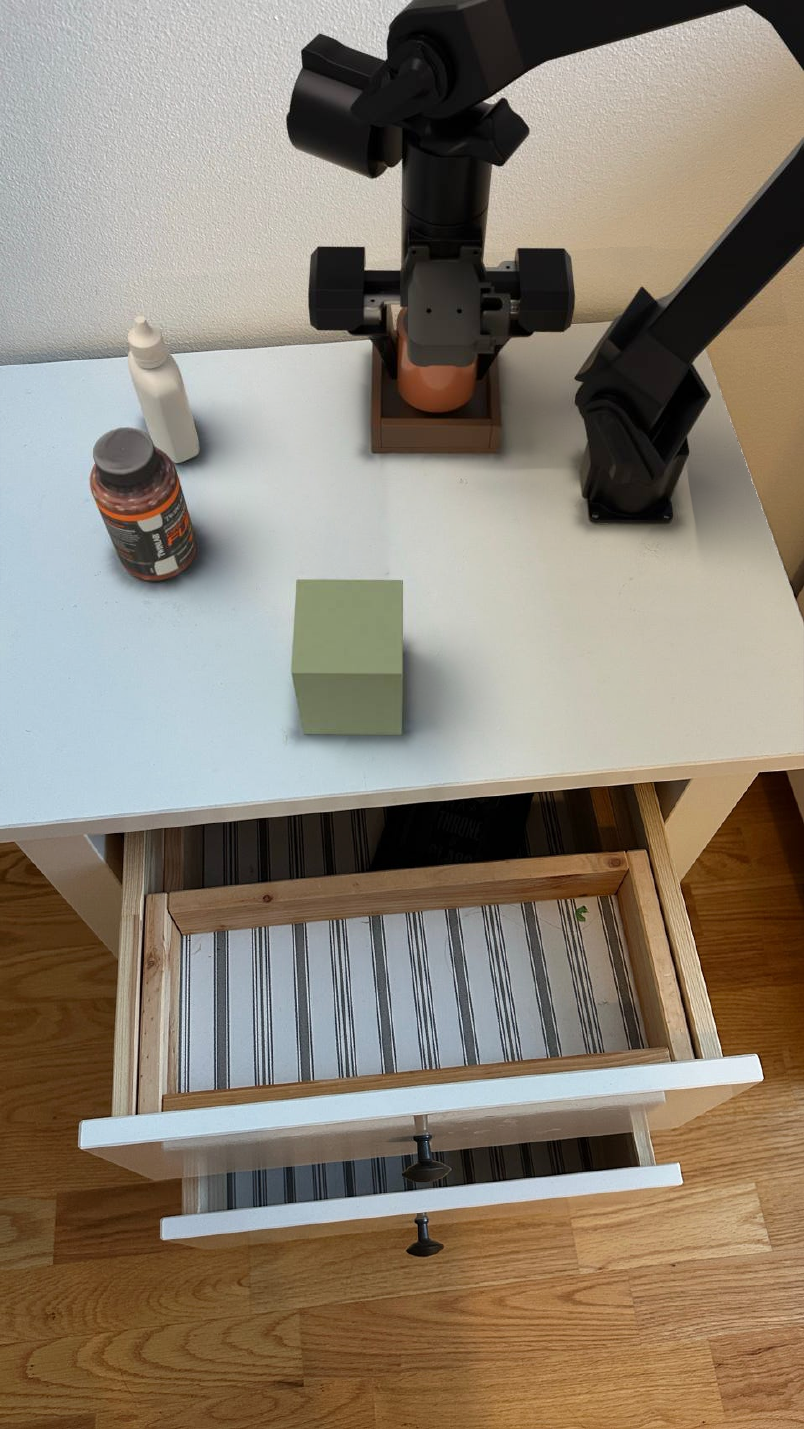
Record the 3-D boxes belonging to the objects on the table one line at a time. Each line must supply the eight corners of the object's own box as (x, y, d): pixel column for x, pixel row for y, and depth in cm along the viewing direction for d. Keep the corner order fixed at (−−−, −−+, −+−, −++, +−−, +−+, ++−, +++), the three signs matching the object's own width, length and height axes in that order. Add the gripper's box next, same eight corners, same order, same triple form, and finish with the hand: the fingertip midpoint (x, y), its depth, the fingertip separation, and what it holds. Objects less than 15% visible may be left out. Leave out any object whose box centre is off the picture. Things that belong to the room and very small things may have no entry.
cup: (475, 353, 80) (480, 292, 74) (477, 413, 77) (483, 354, 72) (396, 352, 80) (396, 291, 74) (396, 412, 77) (396, 353, 72)
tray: (493, 359, 83) (497, 330, 80) (498, 453, 78) (502, 426, 76) (373, 358, 83) (372, 329, 80) (371, 452, 78) (370, 425, 76)
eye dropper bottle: (204, 411, 80) (174, 291, 69) (199, 465, 78) (168, 349, 67) (150, 412, 80) (112, 291, 69) (144, 466, 78) (103, 349, 67)
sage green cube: (402, 649, 71) (403, 579, 62) (401, 735, 68) (402, 673, 60) (307, 648, 71) (296, 579, 62) (303, 734, 68) (290, 672, 59)
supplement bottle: (194, 585, 73) (162, 487, 63) (114, 584, 73) (69, 485, 63) (202, 520, 75) (173, 416, 65) (125, 518, 75) (84, 414, 65)
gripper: (295, 283, 60) (314, 454, 74) (598, 285, 60) (560, 456, 74) (304, 165, 65) (320, 347, 79) (584, 167, 65) (551, 348, 79)
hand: (436, 376), depth 78 cm, fingers closed on cup, 6 cm apart
